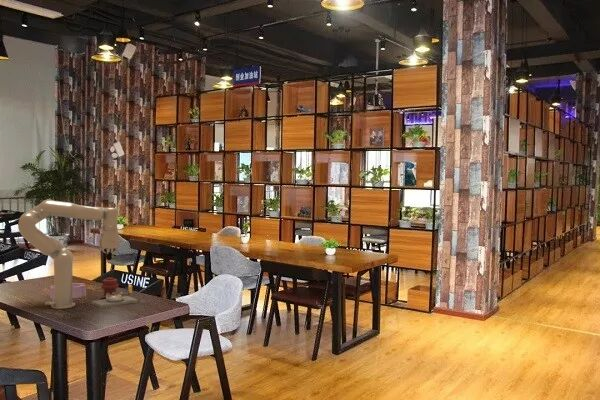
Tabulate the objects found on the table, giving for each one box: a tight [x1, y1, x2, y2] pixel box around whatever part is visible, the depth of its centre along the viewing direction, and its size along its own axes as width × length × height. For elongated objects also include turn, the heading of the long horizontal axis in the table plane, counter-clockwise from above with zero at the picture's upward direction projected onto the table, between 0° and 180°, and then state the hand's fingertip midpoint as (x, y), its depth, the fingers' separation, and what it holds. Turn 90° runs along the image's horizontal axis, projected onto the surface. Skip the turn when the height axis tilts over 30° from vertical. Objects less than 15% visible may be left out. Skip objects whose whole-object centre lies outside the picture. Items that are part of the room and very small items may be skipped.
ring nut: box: [105, 284, 133, 302], centre depth 315 cm, size 11×14×9 cm
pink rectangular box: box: [49, 282, 87, 300], centre depth 329 cm, size 20×12×7 cm, turn 119°
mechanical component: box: [100, 277, 120, 298], centre depth 327 cm, size 12×10×10 cm
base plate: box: [91, 296, 138, 309], centre depth 315 cm, size 22×13×2 cm, turn 133°
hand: (108, 259), depth 312 cm, fingers closed
